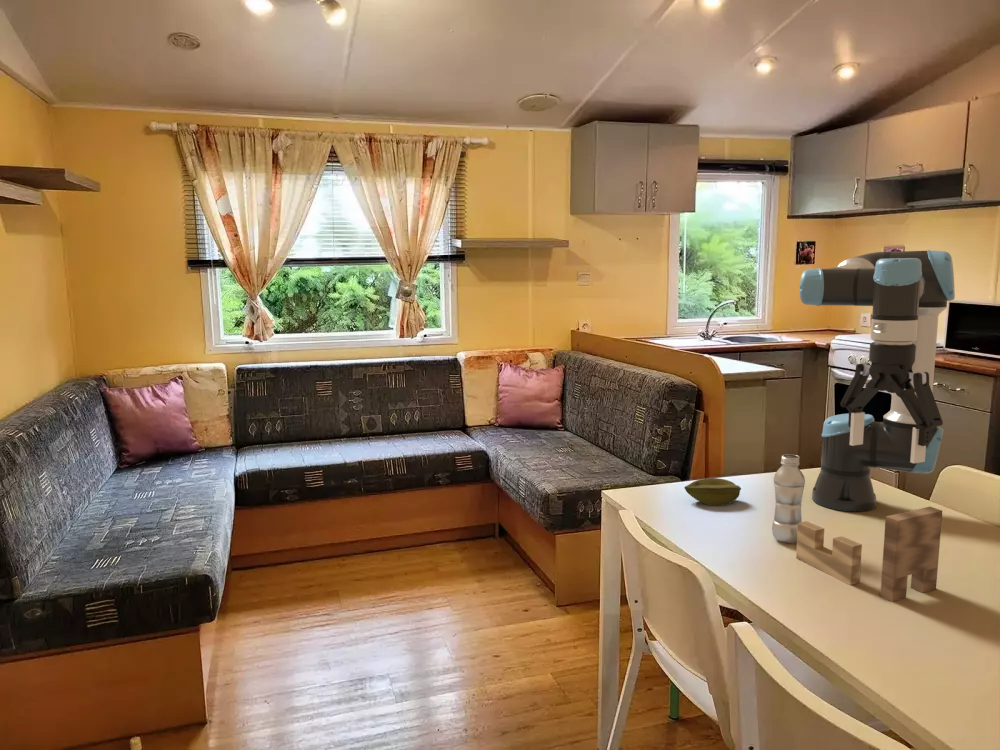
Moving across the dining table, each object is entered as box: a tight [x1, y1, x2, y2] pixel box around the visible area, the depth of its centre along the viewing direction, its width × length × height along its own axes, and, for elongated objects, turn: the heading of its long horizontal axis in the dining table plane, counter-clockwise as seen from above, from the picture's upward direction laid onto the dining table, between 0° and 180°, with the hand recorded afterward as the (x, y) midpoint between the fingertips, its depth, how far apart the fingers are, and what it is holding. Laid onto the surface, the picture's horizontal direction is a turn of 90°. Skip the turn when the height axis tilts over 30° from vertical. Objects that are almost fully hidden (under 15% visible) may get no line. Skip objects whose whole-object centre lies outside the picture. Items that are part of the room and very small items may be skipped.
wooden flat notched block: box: [879, 506, 943, 603], centre depth 135 cm, size 12×2×16 cm, turn 113°
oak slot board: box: [795, 520, 863, 586], centre depth 146 cm, size 2×14×8 cm, turn 22°
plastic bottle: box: [771, 453, 806, 544], centre depth 160 cm, size 6×7×20 cm
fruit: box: [683, 477, 742, 507], centre depth 188 cm, size 11×12×7 cm
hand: (885, 453), depth 135 cm, fingers open, 13 cm apart
